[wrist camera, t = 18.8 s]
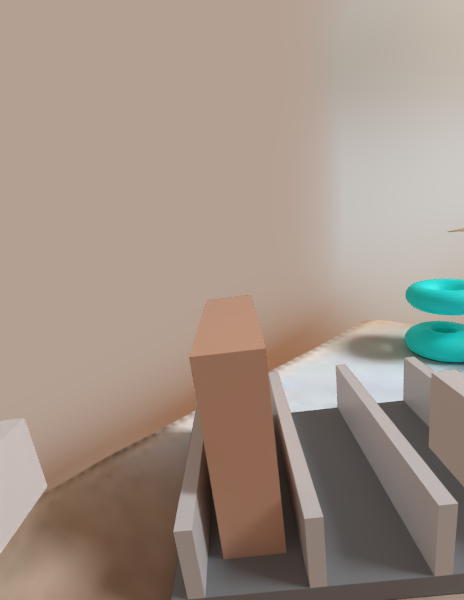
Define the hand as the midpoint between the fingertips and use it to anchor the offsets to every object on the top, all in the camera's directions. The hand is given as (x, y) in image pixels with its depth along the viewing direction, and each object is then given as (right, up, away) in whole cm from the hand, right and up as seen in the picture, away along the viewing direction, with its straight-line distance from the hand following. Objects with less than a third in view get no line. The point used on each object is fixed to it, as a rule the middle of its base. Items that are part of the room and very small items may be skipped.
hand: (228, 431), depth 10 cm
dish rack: (+9, -11, +15) cm, 21 cm away
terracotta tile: (+1, -10, +15) cm, 18 cm away
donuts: (+31, -3, +35) cm, 47 cm away
